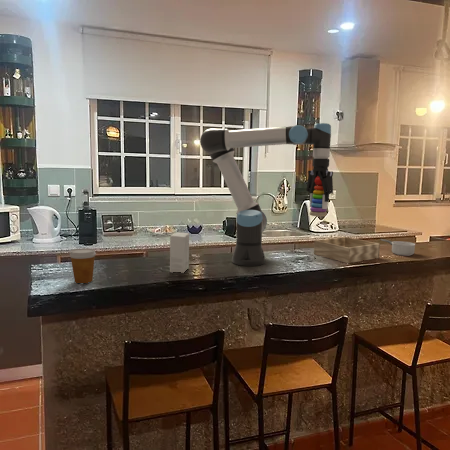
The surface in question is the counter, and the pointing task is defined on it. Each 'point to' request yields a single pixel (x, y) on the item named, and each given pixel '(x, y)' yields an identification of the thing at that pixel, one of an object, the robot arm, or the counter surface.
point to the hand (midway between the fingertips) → (318, 207)
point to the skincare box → (179, 252)
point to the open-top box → (346, 249)
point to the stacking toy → (318, 199)
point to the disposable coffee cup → (83, 264)
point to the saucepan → (402, 247)
